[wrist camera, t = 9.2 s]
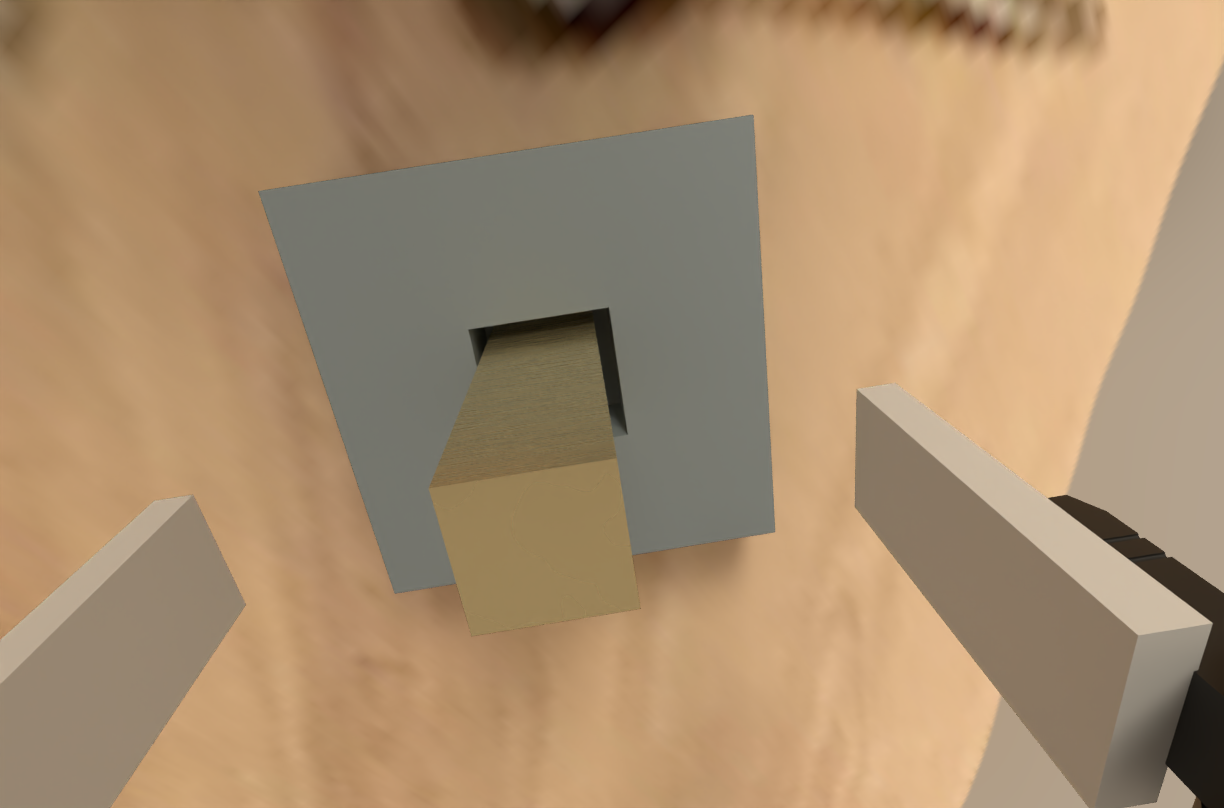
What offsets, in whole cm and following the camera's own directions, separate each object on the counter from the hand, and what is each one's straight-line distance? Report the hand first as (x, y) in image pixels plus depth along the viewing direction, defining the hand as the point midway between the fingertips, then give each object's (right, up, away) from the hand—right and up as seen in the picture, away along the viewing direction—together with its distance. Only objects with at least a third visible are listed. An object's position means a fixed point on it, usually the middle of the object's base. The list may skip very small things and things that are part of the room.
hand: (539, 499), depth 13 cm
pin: (-1, +4, +10) cm, 11 cm away
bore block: (-1, +4, +11) cm, 12 cm away
